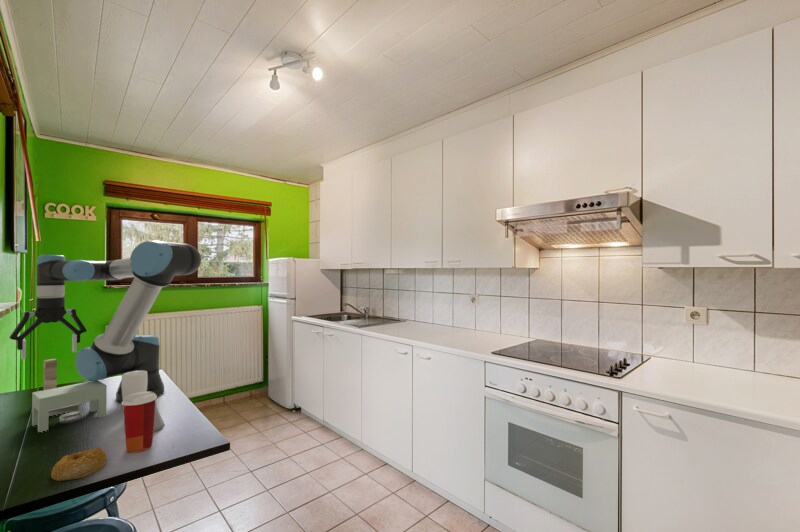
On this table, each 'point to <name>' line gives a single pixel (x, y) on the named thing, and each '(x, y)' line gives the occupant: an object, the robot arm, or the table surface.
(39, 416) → the white bridge stand
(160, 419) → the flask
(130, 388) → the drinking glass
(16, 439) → the table surface
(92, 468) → the bagel
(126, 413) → the paper cup
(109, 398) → the table surface
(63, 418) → the steel disc
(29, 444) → the table surface
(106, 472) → the table surface
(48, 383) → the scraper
